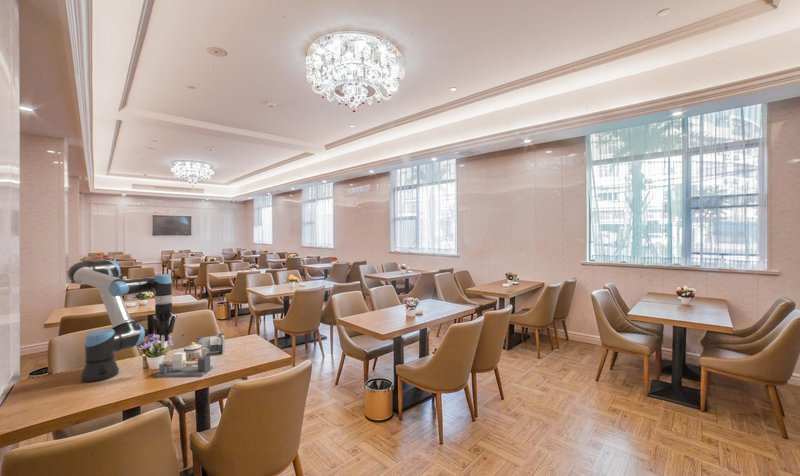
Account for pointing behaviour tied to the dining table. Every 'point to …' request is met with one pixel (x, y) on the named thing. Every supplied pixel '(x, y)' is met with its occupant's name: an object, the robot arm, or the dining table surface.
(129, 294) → the robot arm
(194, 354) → the teacup with lid
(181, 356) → the marker sleeve
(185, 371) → the grey stepped fixture
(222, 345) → the toy buggy
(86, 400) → the dining table surface
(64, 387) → the dining table surface
